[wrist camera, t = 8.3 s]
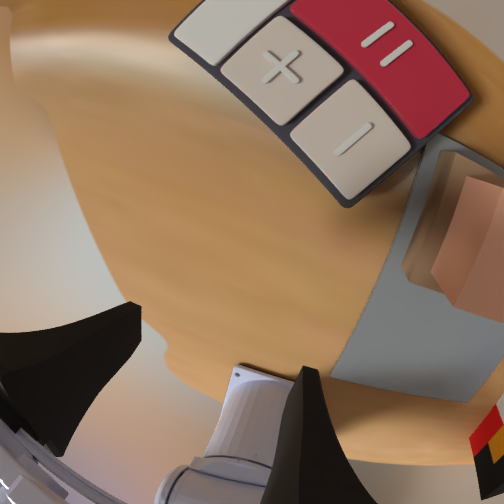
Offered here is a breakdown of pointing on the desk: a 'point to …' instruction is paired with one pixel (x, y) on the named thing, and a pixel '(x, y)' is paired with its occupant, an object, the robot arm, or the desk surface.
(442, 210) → the walnut base brick
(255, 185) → the desk surface
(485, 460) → the puzzle toy
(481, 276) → the terracotta brick
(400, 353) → the baseplate
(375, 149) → the calculator
